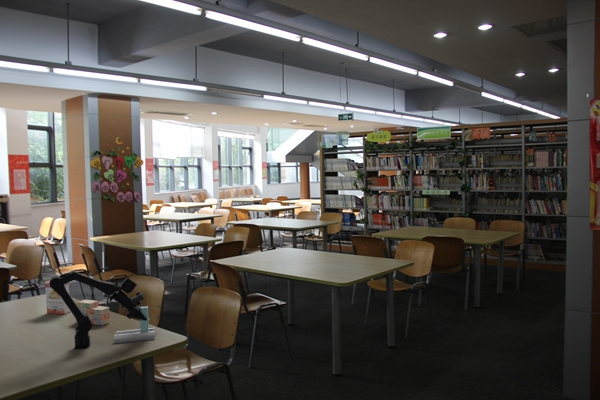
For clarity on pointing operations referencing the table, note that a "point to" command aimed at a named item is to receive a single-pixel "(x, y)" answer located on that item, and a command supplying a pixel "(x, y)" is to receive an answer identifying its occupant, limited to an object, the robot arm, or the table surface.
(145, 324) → the pale teal block
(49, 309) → the cracker box
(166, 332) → the table surface
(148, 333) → the floor track
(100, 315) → the stack of blocks
